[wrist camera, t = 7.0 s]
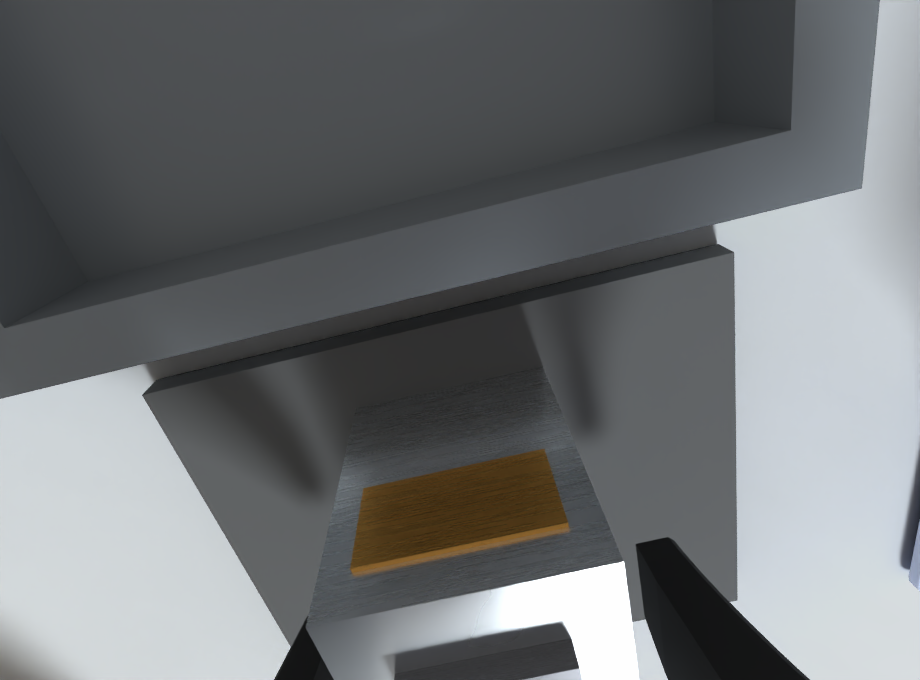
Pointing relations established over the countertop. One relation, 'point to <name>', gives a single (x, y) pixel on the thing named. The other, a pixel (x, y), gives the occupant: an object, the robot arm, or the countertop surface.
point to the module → (470, 545)
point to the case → (382, 152)
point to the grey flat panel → (473, 359)
